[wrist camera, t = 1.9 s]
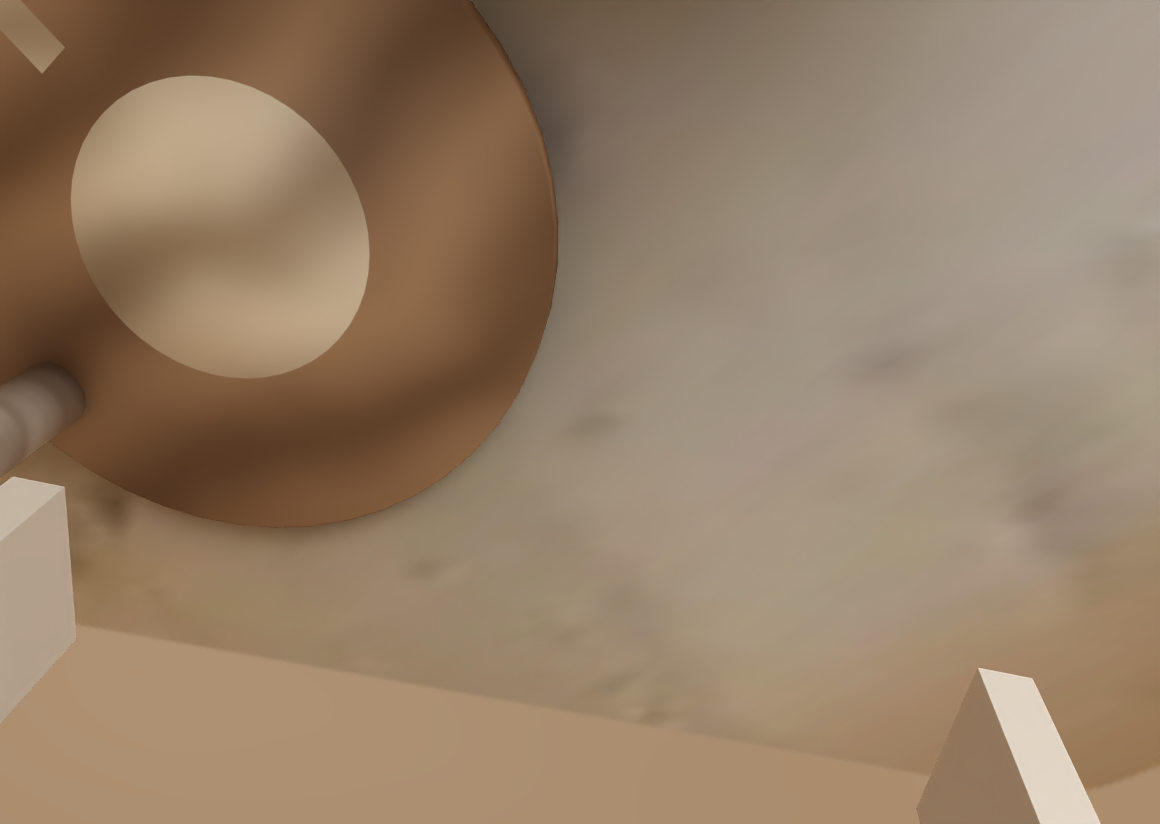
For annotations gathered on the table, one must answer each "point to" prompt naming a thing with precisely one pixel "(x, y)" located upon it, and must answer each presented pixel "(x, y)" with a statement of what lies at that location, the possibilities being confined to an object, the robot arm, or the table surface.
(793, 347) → the table surface
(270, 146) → the disc
